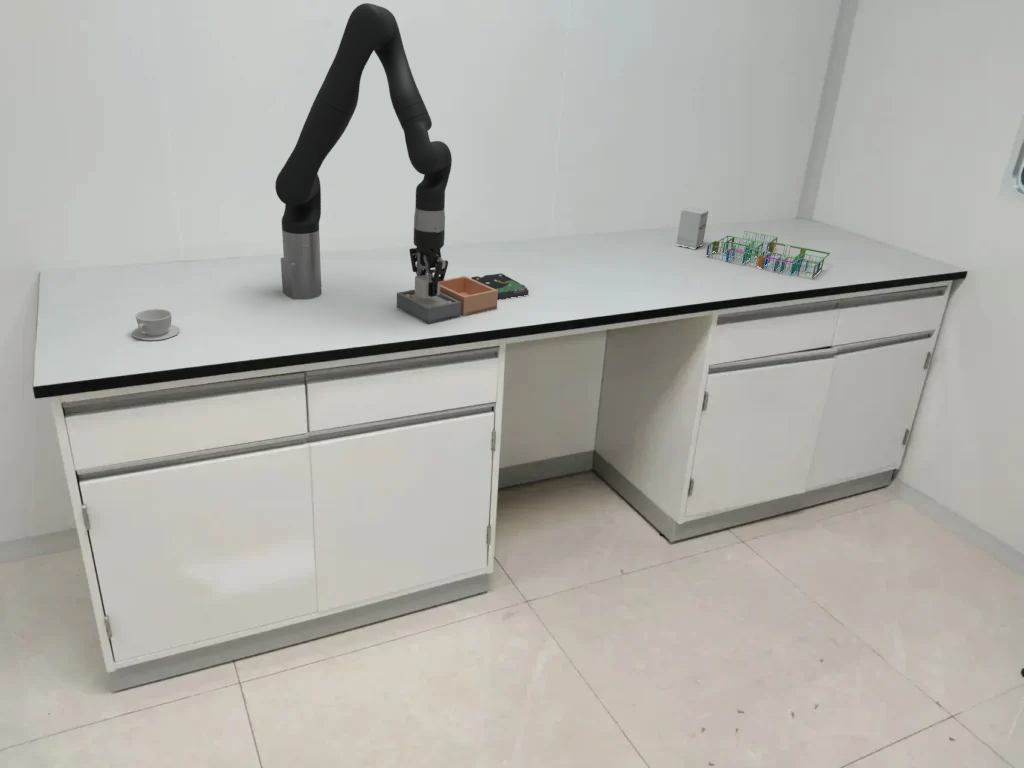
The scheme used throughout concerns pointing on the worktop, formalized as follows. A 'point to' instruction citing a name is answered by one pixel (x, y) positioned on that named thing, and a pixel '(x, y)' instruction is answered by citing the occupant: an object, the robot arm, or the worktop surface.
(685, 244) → the supplement box
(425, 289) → the gray rectangular block
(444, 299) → the gravel bin
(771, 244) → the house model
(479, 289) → the terracotta bin
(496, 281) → the disk drive
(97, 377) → the worktop surface
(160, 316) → the teacup
